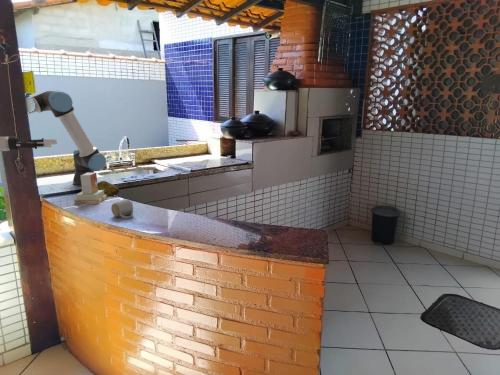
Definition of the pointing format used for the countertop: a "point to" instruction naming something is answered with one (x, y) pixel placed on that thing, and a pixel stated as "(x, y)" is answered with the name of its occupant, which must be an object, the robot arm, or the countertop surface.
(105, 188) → the potato
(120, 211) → the ceramic mug
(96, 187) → the small box
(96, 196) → the sage top slab
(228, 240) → the countertop surface
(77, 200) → the birch base slab
